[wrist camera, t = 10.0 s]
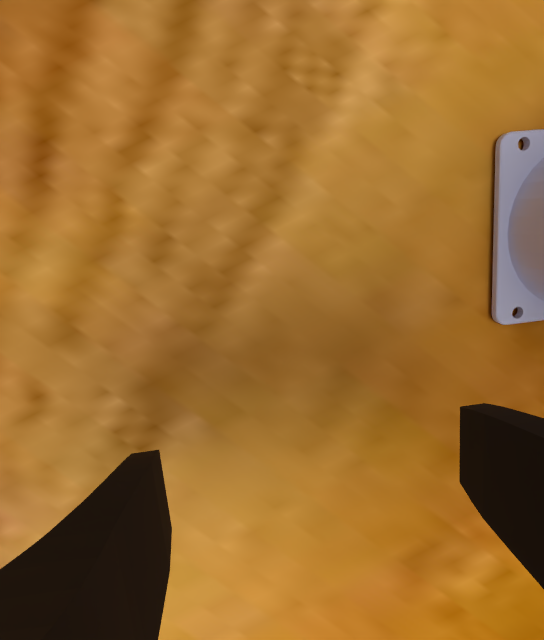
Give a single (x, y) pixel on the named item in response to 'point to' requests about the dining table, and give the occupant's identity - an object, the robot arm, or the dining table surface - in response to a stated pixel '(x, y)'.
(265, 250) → the dining table surface
